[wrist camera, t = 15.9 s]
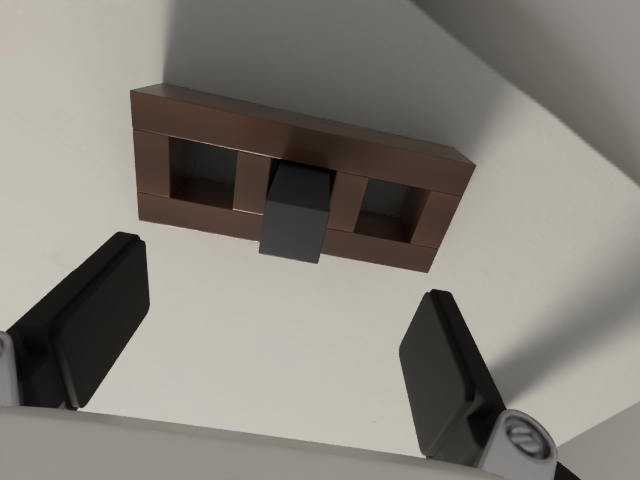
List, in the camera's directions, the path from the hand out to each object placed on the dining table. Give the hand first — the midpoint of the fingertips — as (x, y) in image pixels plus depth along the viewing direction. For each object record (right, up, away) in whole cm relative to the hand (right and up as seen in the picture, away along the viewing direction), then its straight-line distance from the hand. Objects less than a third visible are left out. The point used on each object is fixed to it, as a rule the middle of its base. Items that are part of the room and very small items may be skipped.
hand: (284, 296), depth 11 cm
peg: (0, +7, +13) cm, 14 cm away
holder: (0, +7, +13) cm, 14 cm away
